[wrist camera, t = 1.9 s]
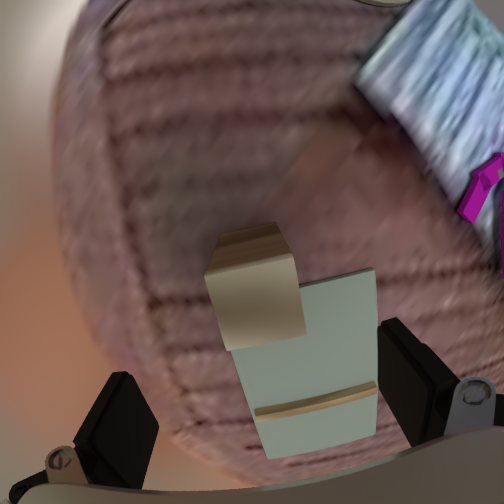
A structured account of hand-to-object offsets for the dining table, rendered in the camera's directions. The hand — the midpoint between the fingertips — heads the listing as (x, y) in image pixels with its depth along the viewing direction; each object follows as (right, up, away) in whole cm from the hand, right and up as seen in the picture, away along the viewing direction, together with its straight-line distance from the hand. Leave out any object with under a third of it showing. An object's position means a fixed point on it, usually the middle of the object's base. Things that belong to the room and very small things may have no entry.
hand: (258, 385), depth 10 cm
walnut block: (0, +5, +15) cm, 16 cm away
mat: (+6, -9, +19) cm, 22 cm away
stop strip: (+7, -11, +19) cm, 22 cm away
